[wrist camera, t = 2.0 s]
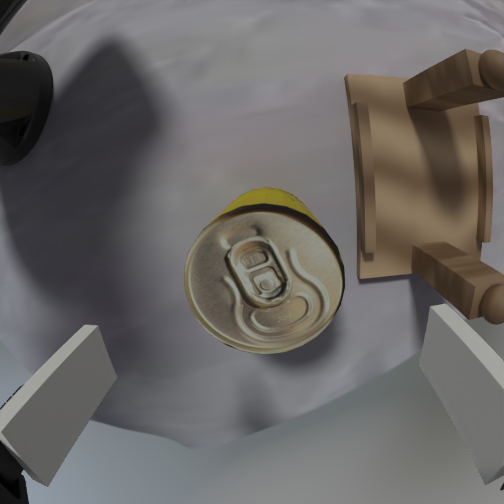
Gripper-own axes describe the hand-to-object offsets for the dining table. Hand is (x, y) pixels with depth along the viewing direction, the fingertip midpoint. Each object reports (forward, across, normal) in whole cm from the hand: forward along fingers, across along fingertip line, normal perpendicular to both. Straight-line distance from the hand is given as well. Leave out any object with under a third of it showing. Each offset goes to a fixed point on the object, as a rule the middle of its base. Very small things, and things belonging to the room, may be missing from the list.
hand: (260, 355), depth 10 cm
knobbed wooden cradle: (+18, +16, +5) cm, 25 cm away
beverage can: (+18, 0, 0) cm, 18 cm away
